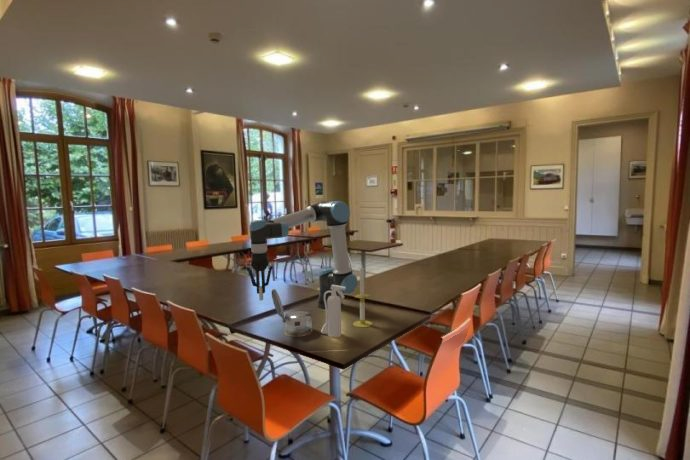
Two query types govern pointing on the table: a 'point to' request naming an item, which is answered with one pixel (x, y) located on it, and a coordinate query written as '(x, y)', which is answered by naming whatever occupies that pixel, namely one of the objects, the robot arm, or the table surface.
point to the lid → (277, 303)
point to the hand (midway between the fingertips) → (261, 299)
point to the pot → (298, 323)
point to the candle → (362, 302)
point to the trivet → (302, 335)
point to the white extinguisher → (333, 311)
